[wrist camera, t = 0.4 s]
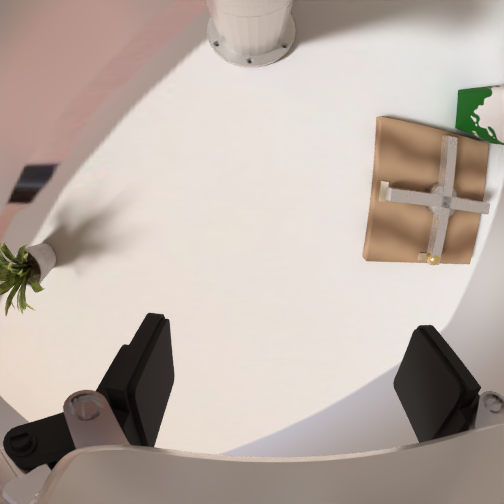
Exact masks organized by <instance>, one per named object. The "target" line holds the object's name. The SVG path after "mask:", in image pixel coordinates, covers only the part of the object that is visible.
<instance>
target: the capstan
mask: <svg viewBox="0 0 504 504" xmlns="http://www.w3.org/2000/svg"><path fill="white" fill-rule="evenodd" d="M456 154H457V138H455V137H452V136H444V135H442V148H441V161H440V172H439V181H438V183H433V184H431V185H430V186H429V187H428V188H427V190H426V192H424V191H417V190H409V189H402V188H394V187H387V188H386V197H385V199H386V200H388V201H391V202H400V203H409V204H418V205H425V206H426V208H427V210H428V211H430V212H431V213H433V214H434V217H433V223H432V228H431V234H430V239H429V244H428V249H427V254H426V258H425V261H427V262H428V263H429V264H430V265H439V262H440V258H441V254H442V249H443V244H444V239H445V234H446V229H447V224H448V218H449V217H450V216H451V215H452V214H453V213H454V212H455V210H463V211H469V212H476V213H482V214H488V213H489V207H490V204H489V203H486V202H483V201H478V200H473V199H467V198H461V197H457V193H456V191H455V190H454V189H453V184H454V175H455V165H456Z"/></svg>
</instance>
